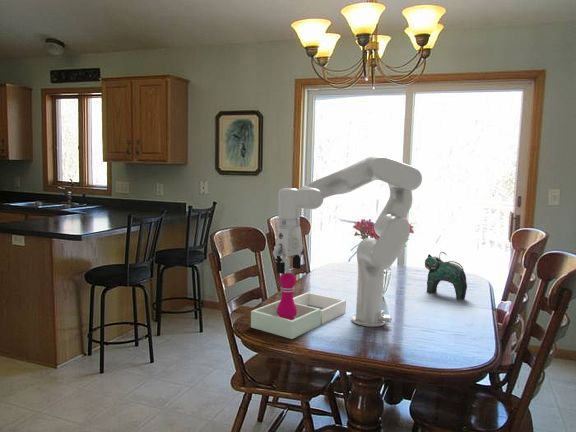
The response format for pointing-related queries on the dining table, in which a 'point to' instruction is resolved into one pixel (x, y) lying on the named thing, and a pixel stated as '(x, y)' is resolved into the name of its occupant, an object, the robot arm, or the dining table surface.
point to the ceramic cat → (445, 275)
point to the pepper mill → (287, 296)
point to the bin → (285, 320)
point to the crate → (323, 305)
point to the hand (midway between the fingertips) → (288, 270)
